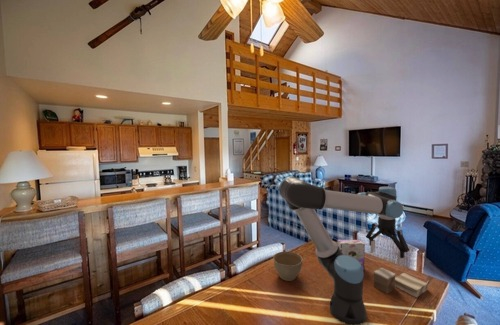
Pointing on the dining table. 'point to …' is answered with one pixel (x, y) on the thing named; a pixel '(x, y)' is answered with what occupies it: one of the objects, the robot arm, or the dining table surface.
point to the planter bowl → (288, 265)
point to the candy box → (353, 249)
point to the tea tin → (384, 280)
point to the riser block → (410, 284)
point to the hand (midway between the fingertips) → (385, 257)
